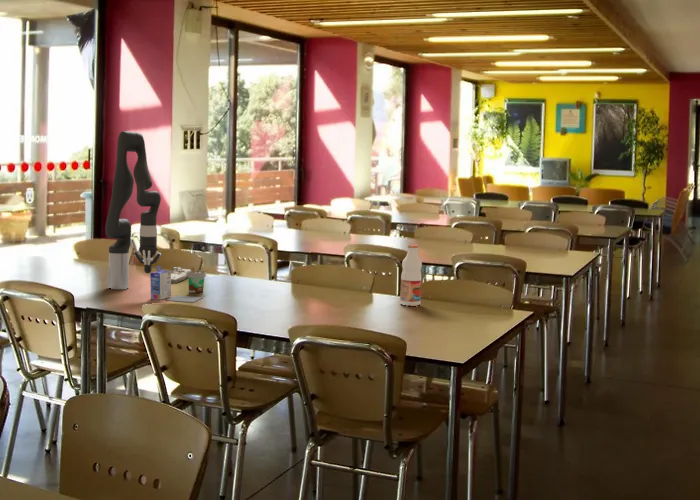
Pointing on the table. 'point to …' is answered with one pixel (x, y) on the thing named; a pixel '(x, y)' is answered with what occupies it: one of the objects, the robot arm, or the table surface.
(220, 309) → the table surface
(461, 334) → the table surface
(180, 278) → the long grey stone
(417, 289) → the fruit juice
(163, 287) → the ink cartridge box
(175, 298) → the mat
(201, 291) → the food container
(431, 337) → the table surface
